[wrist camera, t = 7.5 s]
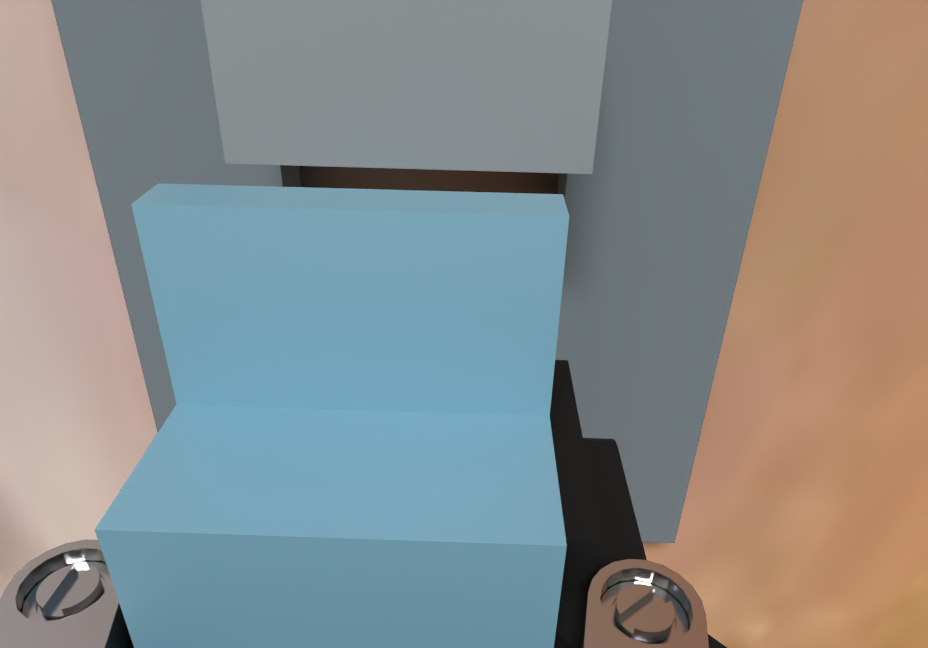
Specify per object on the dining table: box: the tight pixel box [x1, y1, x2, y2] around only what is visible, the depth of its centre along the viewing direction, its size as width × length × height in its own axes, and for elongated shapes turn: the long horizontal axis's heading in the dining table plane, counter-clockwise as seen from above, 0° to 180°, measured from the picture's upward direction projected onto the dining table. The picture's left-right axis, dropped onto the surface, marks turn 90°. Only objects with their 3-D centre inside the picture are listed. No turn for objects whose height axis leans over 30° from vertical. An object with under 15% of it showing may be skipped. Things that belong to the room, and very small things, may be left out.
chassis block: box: [51, 0, 803, 543], centre depth 15 cm, size 14×15×5 cm
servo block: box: [95, 183, 569, 648], centre depth 10 cm, size 4×10×8 cm, turn 179°
